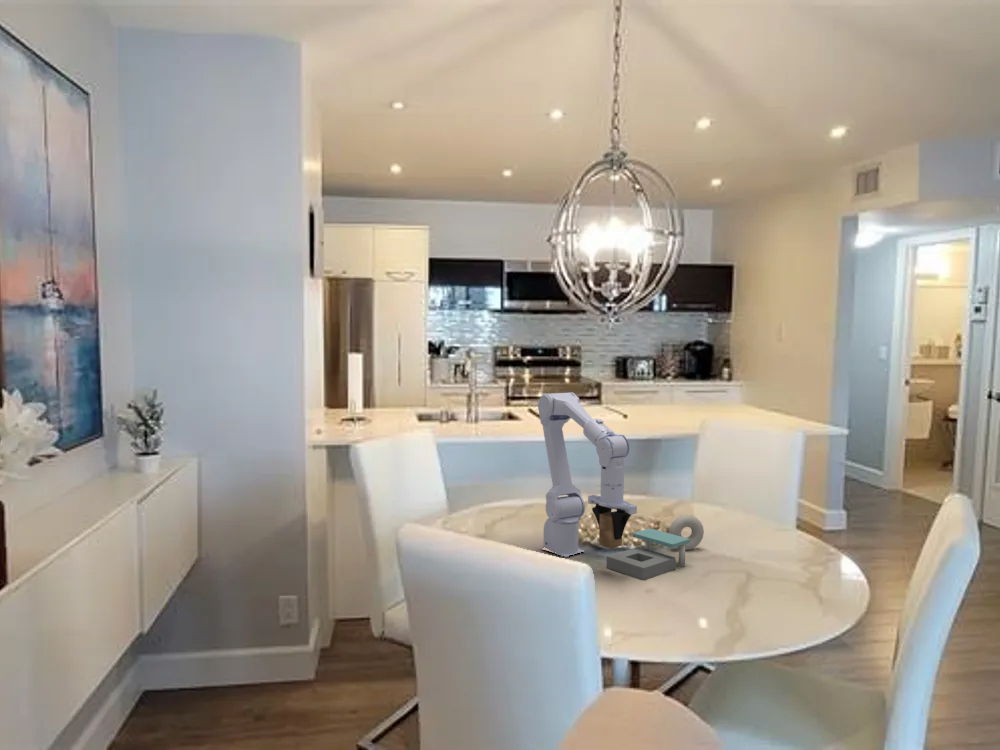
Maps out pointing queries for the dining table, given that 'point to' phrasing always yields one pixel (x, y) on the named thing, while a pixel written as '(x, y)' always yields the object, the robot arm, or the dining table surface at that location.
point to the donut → (693, 524)
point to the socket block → (640, 563)
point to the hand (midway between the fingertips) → (611, 536)
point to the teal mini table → (664, 541)
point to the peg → (607, 532)
